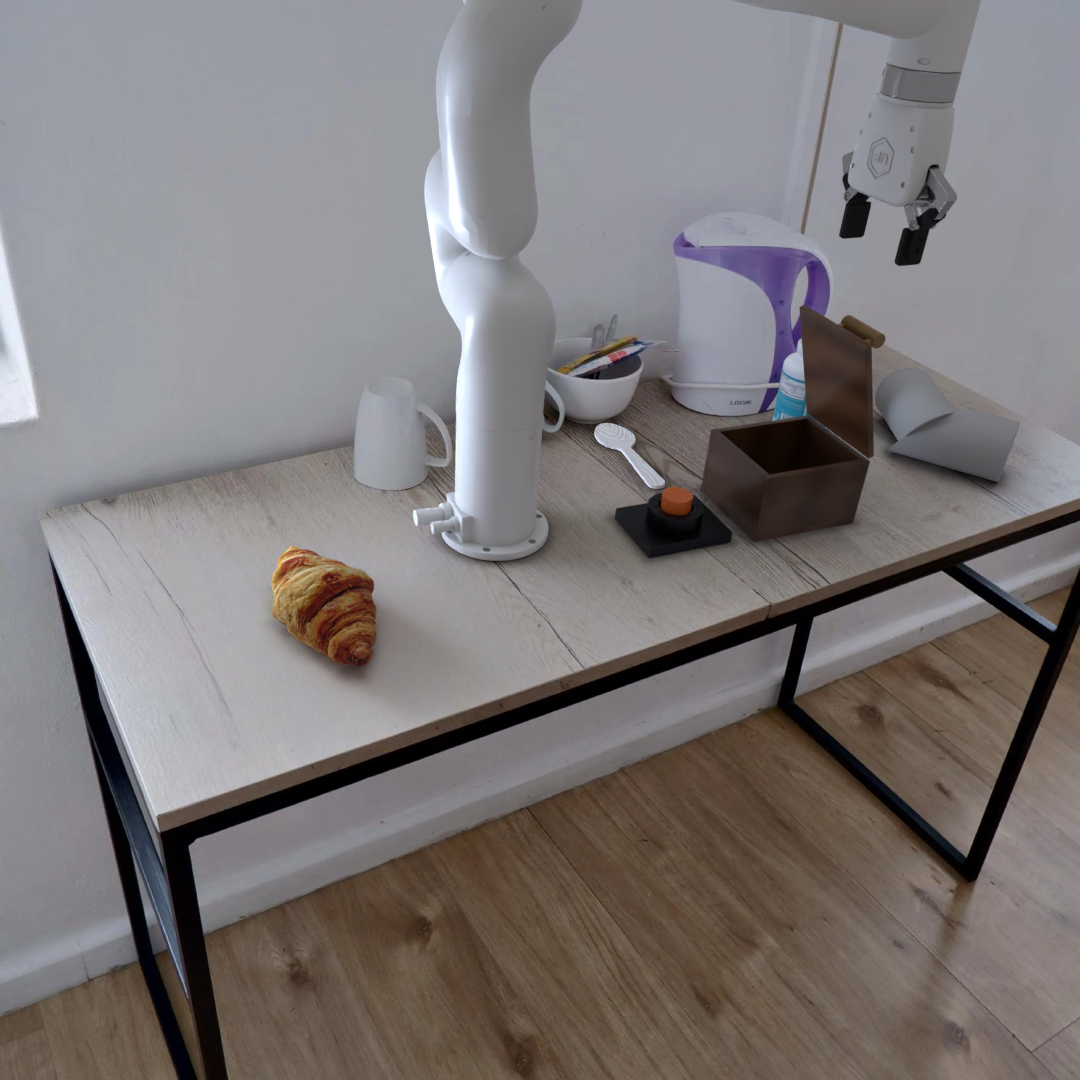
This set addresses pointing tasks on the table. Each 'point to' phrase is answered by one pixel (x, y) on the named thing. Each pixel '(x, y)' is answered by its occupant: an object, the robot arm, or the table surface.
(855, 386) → the lid
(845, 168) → the robot arm
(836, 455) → the tea box
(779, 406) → the pill bottle
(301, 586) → the croissant
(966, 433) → the elbow connector
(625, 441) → the spoon
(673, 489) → the button
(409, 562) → the table surface
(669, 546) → the switch block
